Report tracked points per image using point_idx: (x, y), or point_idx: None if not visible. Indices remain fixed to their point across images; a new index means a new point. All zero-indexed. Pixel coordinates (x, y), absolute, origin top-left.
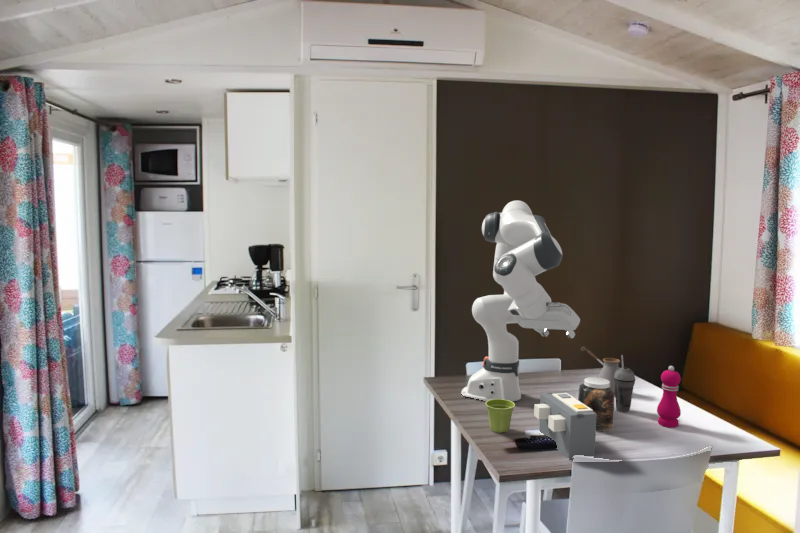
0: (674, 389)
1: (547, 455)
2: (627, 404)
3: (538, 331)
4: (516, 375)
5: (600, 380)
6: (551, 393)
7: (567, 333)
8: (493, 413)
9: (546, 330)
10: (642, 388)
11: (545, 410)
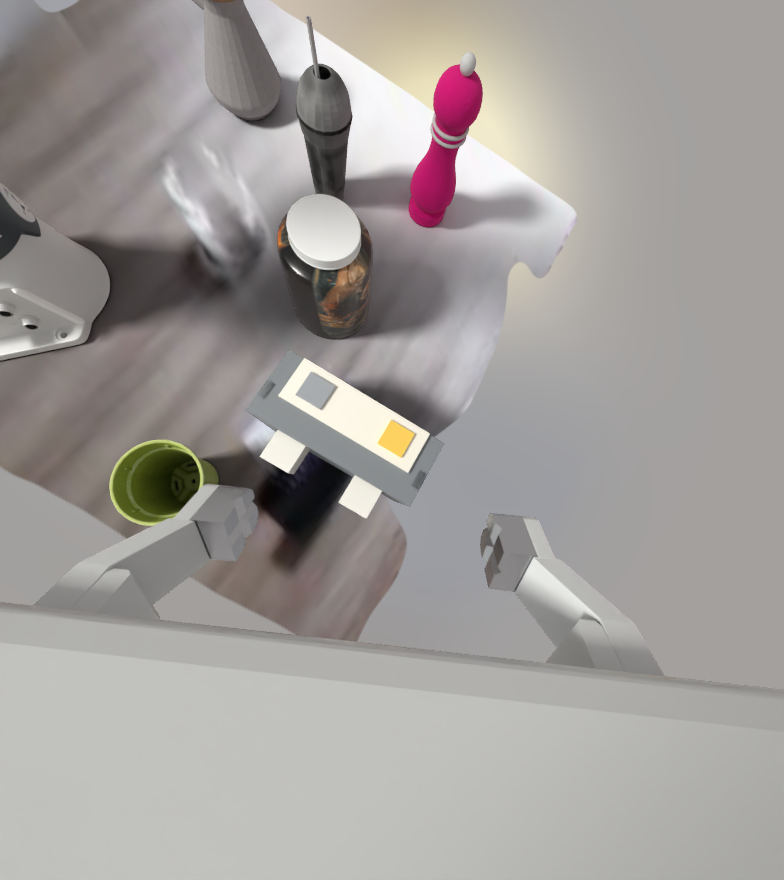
0: (464, 139)
1: (354, 517)
2: (342, 184)
3: (175, 586)
4: (36, 234)
5: (330, 219)
6: (269, 385)
7: (503, 581)
8: (169, 514)
9: (231, 524)
10: (289, 40)
11: (299, 457)
